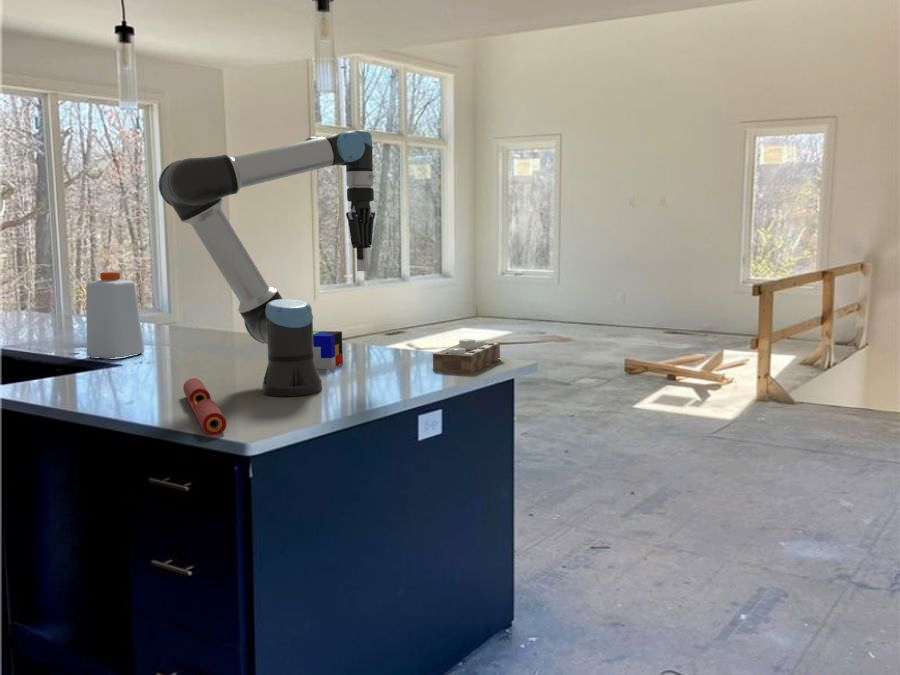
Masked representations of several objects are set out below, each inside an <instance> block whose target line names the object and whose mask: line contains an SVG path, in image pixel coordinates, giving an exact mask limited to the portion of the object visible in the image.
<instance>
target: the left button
mask: <svg viewBox="0 0 900 675" xmlns="http://www.w3.org/2000/svg"><path fill="white" fill-rule="evenodd" d="M465 353H466V349H465V348H451V349H449V354H455V355H463V354H465Z"/></svg>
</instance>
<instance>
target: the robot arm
mask: <svg viewBox="0 0 900 675" xmlns="http://www.w3.org/2000/svg"><path fill="white" fill-rule="evenodd" d="M373 149H374V147H373V138H372V134H371V132H369V131H367V130H348V131H343V132H340V133H336V134H331V135H327V136H308V137H307V138H305V140H304V141H300V142H295V143H291V144H286V145H282V146H277V147H272V148H269V149H268V148H267V149H265V150H264V149H263V150H260V151H254V152H250V153H245V154H241V155H236V156H232V157H231V156H230V155H228V154H221V155H215V156H208V157H207V156H206V157H188V158H186V159H181V160H176V161H174V162H171V163H170V164H168V165H167V166H165V168H164V169H163V170H162V171H161V173H160V174H159V178H158V191H159V194H160V196H161V197H162V199H163V200H164V202H166V204H168V205H169V206H170V207H172V208H173V209H174V212H176V214H177V216H178V217H179V218H180V220H181V222H182V223H185V224H189V225H191V226H192V228H193V230H194V231H195V233H196V236H198V238H199V240H200V241H201V243H202V244H203V246H204V247H205V249H206V250H207V252H208V253H209V255H210V257H211V258H212V260H213V262H214V263H215V266H217V268H218V269H219V271H220V273H221V274H222V276H223V277H224V279H225V281H226V282H227V284H228V286H229V287H230V288H231V290H232V292H233V294H234V296H236V298H237V300H238V301H239V306H238V309H237V310H238V312H239V313H240V315H241V318H243V320H244V321H243V322H244V326H245V329H246V331H247V333H248V334H249V336H250V337H251V338H252V339H253V340H255V341H257V342H259V343H261V344H263V345H264V344H265V345H267V357H268V358H267V359H268V360H267V361H268V364H267V366H266V370H265V373H264V378H263V381H262V394H264V395H267V396H272V397H298V396H299V397H300V396H306V395H307V396H308V395H312V394H317V393H319V392H320V391H322V389H323V386H322V385H323V384H322V380H321V376H320V373H319V371H318V370H319V369H317V368H316V365H315V362H314V349H313V331H314V326H313V323H314V322H313V320H314V315H313V311H312V310H313V309H312V307H311V304H310V303H308V302H307V301H304V300H299V299H293V298H292V299H291V298H283V297H282V295H281V294H280V292H279V291H278V289H277V288H275V287H272V286H269V285H268V284H267V282H266V280H265V278H264V277H263V275H262V274H261V272H260V270H259V268H258V267H257V265H256V264H255V262H254V261H253V259H252V257H251V256H250V254H249V252H248V250H247V249H246V248H245V246H244V244H243V243H242V241H241V239H240V238H239V236H238V234H237V233H236V231H235V230H234V227H233V226H232V224H231V223H230V221H229V219H228V218H227V216H226V215H225V213H224V211H223V209H222V202H223V198H225V197H229V196H231V195H236V194H238V193H239V191H240V190H241V189H243V188H246V187H250V186H254V185H255V186H256V185H259V184H262V183H263V184H264V183H266V182H267V183H268V182H271V181H275V180H279V179H283V178H286V177H291V176H295V175H299V174H303V173H306V172H312V171H315V170H320V169H324V168H327V167H333V166H345V168H346V170H345V172H346V186H347V187H348V188H347V189H346V201H347V202H349V203H350V202H351V204H350V211H346V212H345V216H346V219H347V222H348V229H349V234H350V236H349V237H350V242H351V246H352V248H353V249H356V270H357V272H368V271H369V261H368V260H369V259H368V258H369V257H368V256H369V255H368V252H369V251H368V249H371V247H372V244H373V243H372V242H373V235H374V234H373V233H374V220H375V217H376V213H375V212H373V211H371V208H372V207H371V205H370V203H371V202H373V201H374V199H375V198H374V197H375V194H374V192H375V191H374V188H373V186H374V176H375V175H374V168H373V166H374V164H373V162H374V161H373V158H374V157H373Z"/></svg>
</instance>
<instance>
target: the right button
mask: <svg viewBox="0 0 900 675" xmlns="http://www.w3.org/2000/svg"><path fill="white" fill-rule="evenodd" d="M475 340H476V346H478V347H482V346H484V345H485V343H486V340H481V339H480V340H478V339H475Z"/></svg>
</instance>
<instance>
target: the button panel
mask: <svg viewBox="0 0 900 675" xmlns="http://www.w3.org/2000/svg"><path fill="white" fill-rule="evenodd" d="M500 345H501V344H500V343H497V342H489V343H488V342H487V343H486V342H485V345H484V346H482V347H478V346H476V349H474V350H472V351H469V350H466V353H465V354H463V355H455V354H449V349H451V348H459V343H458V344H455V345H452V346H450V347H447V348H444V349H442V350H439V351H436V352H434V353H432V371H434V372H445V373H447V372H448V373H458V374H459V373H461V374H464V373H465V374H473V373H475V372H477V371H480V370H481V369H483V368H485V367H487V366H490V365H492V364H494V363H495V362H494V361H496V362H498V361H500V359H501V348H500V347H501V346H500ZM498 358H500V359H498ZM493 362H494V363H493Z"/></svg>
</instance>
